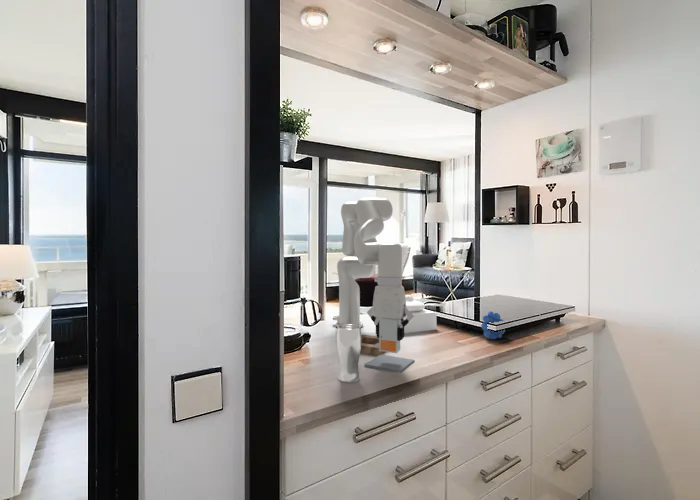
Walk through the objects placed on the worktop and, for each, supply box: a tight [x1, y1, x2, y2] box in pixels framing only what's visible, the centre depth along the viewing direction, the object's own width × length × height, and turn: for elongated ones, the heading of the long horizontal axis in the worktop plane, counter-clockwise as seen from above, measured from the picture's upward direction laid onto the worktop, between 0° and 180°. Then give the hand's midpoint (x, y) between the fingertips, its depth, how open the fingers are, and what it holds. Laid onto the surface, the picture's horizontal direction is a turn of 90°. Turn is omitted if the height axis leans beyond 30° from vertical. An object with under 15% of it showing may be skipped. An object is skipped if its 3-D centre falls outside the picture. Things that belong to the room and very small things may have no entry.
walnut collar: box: [360, 334, 385, 357], centre depth 136 cm, size 14×14×3 cm
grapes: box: [480, 311, 506, 340], centre depth 145 cm, size 12×7×12 cm, turn 115°
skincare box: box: [379, 318, 401, 354], centre depth 117 cm, size 6×4×12 cm
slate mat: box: [363, 353, 415, 374], centre depth 117 cm, size 12×12×1 cm
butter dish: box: [403, 294, 438, 334], centre depth 167 cm, size 18×18×16 cm
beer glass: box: [336, 324, 362, 384], centre depth 105 cm, size 7×7×15 cm
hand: (389, 337), depth 117 cm, fingers closed on skincare box, 6 cm apart
